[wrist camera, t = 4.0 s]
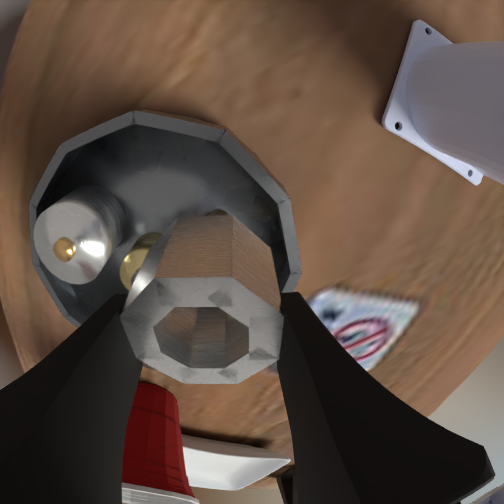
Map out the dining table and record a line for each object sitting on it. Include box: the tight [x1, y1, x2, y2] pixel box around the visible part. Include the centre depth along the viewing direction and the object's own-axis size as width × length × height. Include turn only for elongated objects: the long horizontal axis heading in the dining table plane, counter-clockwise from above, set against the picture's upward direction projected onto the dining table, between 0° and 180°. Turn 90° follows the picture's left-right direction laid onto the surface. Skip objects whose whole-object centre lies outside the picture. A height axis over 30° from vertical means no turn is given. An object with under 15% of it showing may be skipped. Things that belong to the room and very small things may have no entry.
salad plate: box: [181, 434, 291, 490], centre depth 33 cm, size 21×21×3 cm
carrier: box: [29, 109, 302, 370], centre depth 15 cm, size 16×16×5 cm
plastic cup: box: [122, 383, 199, 504], centre depth 21 cm, size 11×11×12 cm
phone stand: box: [277, 466, 298, 504], centre depth 36 cm, size 9×6×12 cm, turn 160°
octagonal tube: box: [120, 215, 284, 384], centre depth 9 cm, size 4×4×3 cm
